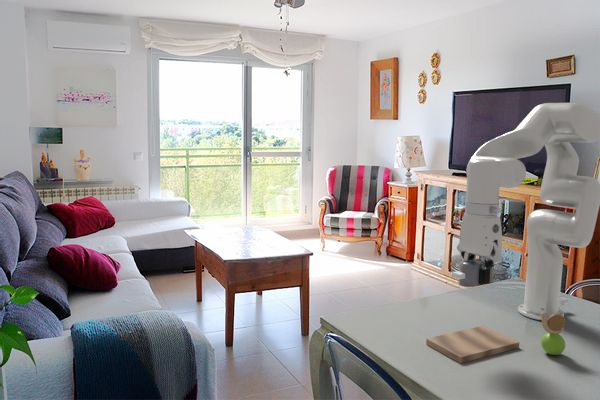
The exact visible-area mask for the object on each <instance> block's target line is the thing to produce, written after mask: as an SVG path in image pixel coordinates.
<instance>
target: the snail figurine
mask: <svg viewBox="0 0 600 400" xmlns="http://www.w3.org/2000/svg"><path fill="white" fill-rule="evenodd" d="M541 309H542V310H543V311H544V310H545V309H544V308H543V307H541ZM541 317H542V320H541V323H542V327H543V329H544V331H545V332H546V333H545V334H544V335H543V336H542V337H541V339H540V345H541V348H542V349H543V351H544V352H545V353H546V354H549V355H551V356H558V355H560V354H562V353H564V351H565V350H566V341H565V339H564V337H563V336H562V335H561V333H563V332H564V331H565V326H566V319H565V318H566V317H565V316H564V317H563V316H562V315H560V314H553V315H551V316H550V317H549V318H548V319H547V318H546V317H547V313H545V312H542V313H541Z"/></svg>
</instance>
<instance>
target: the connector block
mask: <svg viewBox="0 0 600 400" xmlns="http://www.w3.org/2000/svg"><path fill="white" fill-rule="evenodd" d="M486 262H488V261H487V259H486ZM479 269H482V268H481V257H480V258H479V257H478V258H475V259H472V260H465V261H463V260H460V261H459V270H457V271H452V272H451V277H452V278H454V279H456V280H458V285H459V286H461V287H467V288H474V287H479V286H481V285H479ZM494 272H495V265H494V266H493V268H491V269H490V282H489V285H490V284H493V283H494ZM485 285H486V284H484V285H483V286H485Z"/></svg>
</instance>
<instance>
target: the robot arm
mask: <svg viewBox="0 0 600 400" xmlns="http://www.w3.org/2000/svg"><path fill="white" fill-rule="evenodd" d="M599 140H600V113H599V112H598V111H597V110H595V109H593V108H591V107H588V106H587V105H584V104H582V103H579V102H545V103H541V104H538V105H536V106H534V108H532V110H531V111H530V112H529V113H528V114H527V115H526V116H525V118H523V120H522V121H521V122H520V123H519V124H518V125H517V127H516V128H514V130H512V131H508V132H506V133H504V134H501V135H499V136H497V137H495V138H492V139H491V140H489V141H487V142H485V143H484V144H483V145H481V146H480V147H479V148H478V149H477V150H476V151H475V153H474V154H473V155H472V156H471V157H470V159H469V161H468V163H467V165H466V170H465V171H466V172H465V174H466V179H467V180H466V194H465V195H466V196H465V207H464V208H465V211H464V213H463V216H462V220H461V225H460V232H459V241H458V244H457V246H456V250H457V251H458V252H459V254H460V256H461V258H462V259H463V260H462V261H465V260H472V259H476V256H478V257H480V258H481V268H482V269H479V285H480V286H485V285H488V284H489V282H490V269H491V268H493V266H494V267H495V265H497V264H498V263H501V262H503V260H504V259H503V257H502V251H503V233H502V232H503V231H502V221H501V217H500V216H499V215H498V214H499V213H500V212H501V209H500V208H499V199H500V198H499V195H500V188H503V189H504V188H505V189H513V188H517V187H519V186H520V185H521V184H522V183H523V182H524V181H525V178H526V175H527V169H526V166H525V164H524V162H522V161H521V160H520V159H522V158H523V159H524V158H527V157H531V156H534V155H536V154H538V153H539V152H540V151H541V150H542V149H543V148H544V147H545V151H546V157H547V158H546V165H545V167H544V173H543V176H542V177H543V178H542V180H541V181H542V182H541V184H540V186H541V187H540V191H539V199H540V200H541V202H542V203H543V204H546V205H548V206H552V207H558V208H567V209H574V210H575V212H568V211H563V210H554V209H546V208H545V209H544V208H541V209H539V208H538V209H535V210H534V211H531V213H529V215H528V216H527V219H526V232H527V242H528V243H527V244H528V245H527V261H526V274H525V284H524V285H525V286H524V287H525V288H524V298H523V303H521V304H519V305H518V306H517V311H518V313H520V315H522V316H524V317H527V318H530V319H533V320H537V321H542V317H541V313H542V312H545V313H547V317H546V318H547V319H548V318H549V317H550V316H551V315H553V314H560V315H562V316H563V317H564V318H565V313H564V311H563V310H562V309H561V307H562V306H565V305H566V306H567V305H568V304H569V301H568V299H567V298H561V297H560V296H561V288H562V276H563V268H564V267H563V266H564V265H563V264H564V257H563V253H562V251H561V249H560V247H559V246H560V245H561V246H566V247H570V248H571V247H572V248H581V249H582V248H586V247H587V246H588V245H590V243H591V241H592V239H593V236H594V232H595V228H596V223H597V219H598V214H599V210H600V181H599V180H598V179H596V178H595V177H592V176H585V175H577V174H578V169H579V165H580V158H579V155H578V153H577V151H576V150H575V148H574V147H573V145H572V144H571V143H581V144H582V143H583V144H584V143H585V144H593V143H596V142H598V141H599ZM486 259H487V261H488V262H486ZM484 284H485V285H484ZM489 285H490V284H489ZM541 307H543V308H544V309H545V310H544V311H543V310H542V309H541Z"/></svg>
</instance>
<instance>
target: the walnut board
mask: <svg viewBox="0 0 600 400" xmlns="http://www.w3.org/2000/svg"><path fill="white" fill-rule="evenodd" d="M425 341H426V342H425V344H426V345H427V346H429V347H430V348H432V349H434V350H435V351H438V352H440V353H441V354H442V355H445V356H446V357H449V358H450V359H451V360H453V361H455V362H457V363H459V364H463V363H467V362H471V361H474V360H478V359H482V358H485V357H489V356H493V355H496V354H500V353H504V352H509V351H511V350H516V349H519V348H520V341H517V340H516V339H514V338H511V337H509V336H507V335H505V334H502V333H500V332H498V331H496V330H493V329H492V328H489V327H487V326H484V325H481V326H475V327H471V328H468V329H462V330H458V331H453V332H450V333H445V334H441V335H436V336H432V337H427V338H426V340H425Z"/></svg>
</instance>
